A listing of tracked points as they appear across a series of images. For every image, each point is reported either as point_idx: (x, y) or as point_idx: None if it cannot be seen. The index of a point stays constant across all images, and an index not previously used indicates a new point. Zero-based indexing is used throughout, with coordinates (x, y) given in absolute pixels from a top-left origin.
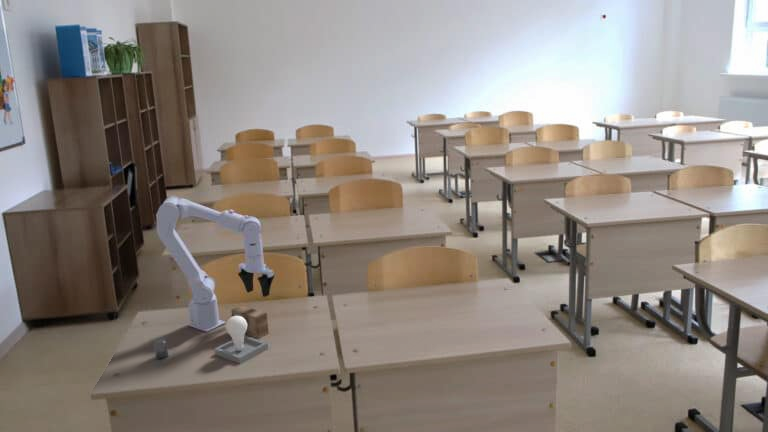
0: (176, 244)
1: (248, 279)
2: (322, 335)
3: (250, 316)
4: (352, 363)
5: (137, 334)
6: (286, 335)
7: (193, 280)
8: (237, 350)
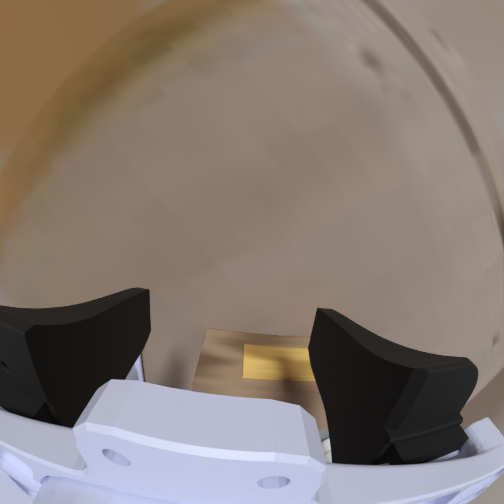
0: None
1: (102, 373)
2: (487, 266)
3: (319, 427)
4: None
5: None
6: (408, 319)
7: None
8: (323, 440)
